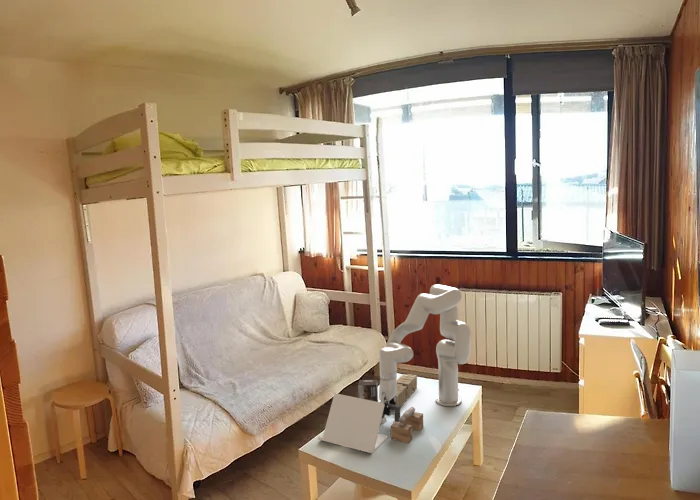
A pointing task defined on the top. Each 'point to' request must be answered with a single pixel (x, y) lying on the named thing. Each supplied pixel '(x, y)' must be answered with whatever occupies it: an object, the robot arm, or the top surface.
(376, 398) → the coffee box
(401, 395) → the block tower
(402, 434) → the wooden handle frame
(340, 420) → the tablet stand
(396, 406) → the grey c-shaped block
